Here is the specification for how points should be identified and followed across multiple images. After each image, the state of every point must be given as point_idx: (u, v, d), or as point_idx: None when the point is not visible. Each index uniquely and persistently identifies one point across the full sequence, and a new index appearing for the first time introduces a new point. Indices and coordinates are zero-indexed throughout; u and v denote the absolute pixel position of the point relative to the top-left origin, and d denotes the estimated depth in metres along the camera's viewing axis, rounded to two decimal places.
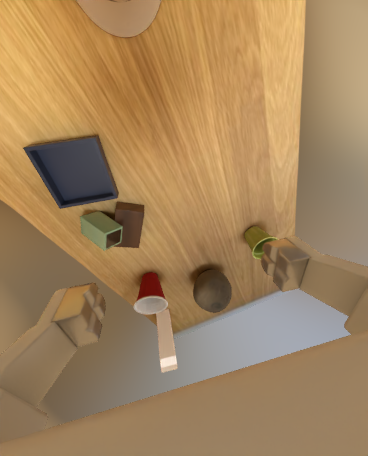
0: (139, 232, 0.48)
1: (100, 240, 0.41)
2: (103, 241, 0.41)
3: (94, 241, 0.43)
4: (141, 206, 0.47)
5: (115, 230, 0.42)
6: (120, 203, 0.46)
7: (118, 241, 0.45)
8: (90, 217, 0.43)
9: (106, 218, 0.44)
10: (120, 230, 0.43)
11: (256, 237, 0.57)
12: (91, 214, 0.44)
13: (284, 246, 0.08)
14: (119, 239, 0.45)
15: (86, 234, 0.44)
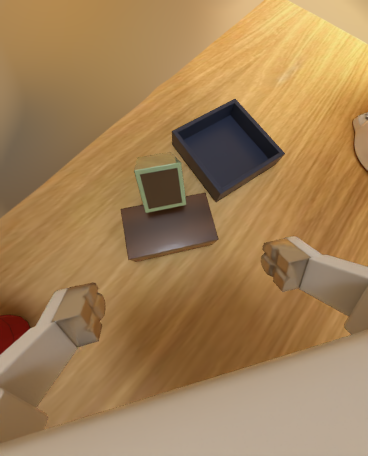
0: (171, 246, 0.23)
1: (155, 164, 0.20)
2: (159, 165, 0.19)
3: (140, 163, 0.22)
4: None
5: (181, 188, 0.21)
6: None
7: (152, 204, 0.21)
8: None
9: None
10: (178, 201, 0.21)
11: None
12: None
13: (284, 246, 0.08)
14: (157, 204, 0.21)
15: (143, 158, 0.25)
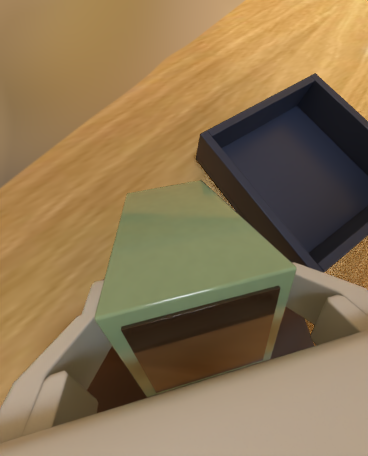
0: None
1: (183, 257, 0.05)
2: (204, 280, 0.05)
3: (131, 232, 0.07)
4: None
5: (271, 333, 0.06)
6: None
7: (169, 383, 0.06)
8: None
9: None
10: (252, 360, 0.07)
11: None
12: None
13: None
14: (185, 380, 0.06)
15: (139, 202, 0.10)
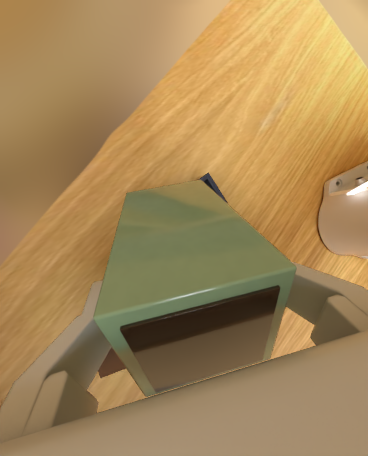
0: None
1: (183, 256, 0.05)
2: (204, 280, 0.04)
3: (130, 231, 0.07)
4: None
5: (271, 333, 0.06)
6: None
7: (168, 383, 0.06)
8: None
9: None
10: (252, 359, 0.07)
11: None
12: None
13: None
14: (185, 379, 0.06)
15: (139, 202, 0.10)
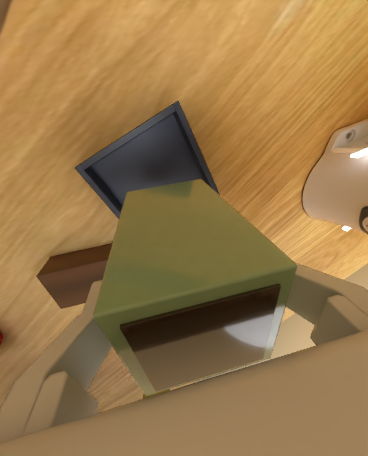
0: None
1: (183, 255, 0.05)
2: (204, 278, 0.04)
3: (130, 230, 0.07)
4: None
5: (271, 331, 0.06)
6: None
7: (168, 382, 0.06)
8: None
9: None
10: (252, 358, 0.07)
11: None
12: None
13: None
14: (185, 379, 0.06)
15: (139, 201, 0.10)
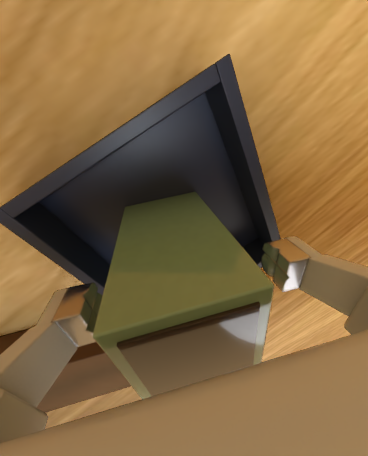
0: (71, 402, 0.17)
1: (173, 275, 0.06)
2: (190, 298, 0.05)
3: (127, 249, 0.08)
4: None
5: (258, 342, 0.06)
6: None
7: (164, 390, 0.07)
8: None
9: None
10: (243, 366, 0.07)
11: None
12: None
13: (284, 246, 0.08)
14: (180, 386, 0.07)
15: (136, 217, 0.10)
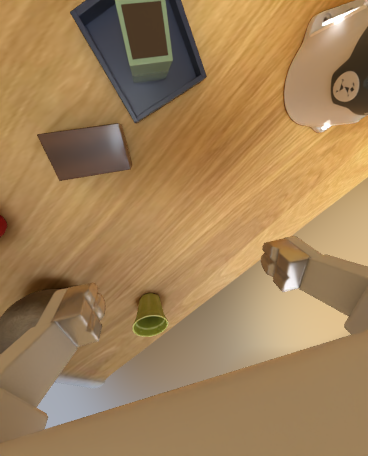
0: (92, 172, 0.30)
1: None
2: None
3: None
4: (130, 161, 0.33)
5: (166, 34, 0.20)
6: (122, 129, 0.30)
7: (136, 53, 0.20)
8: None
9: None
10: (164, 53, 0.20)
11: (155, 308, 0.48)
12: None
13: (284, 246, 0.08)
14: (141, 54, 0.20)
15: None
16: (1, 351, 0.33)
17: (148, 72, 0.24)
